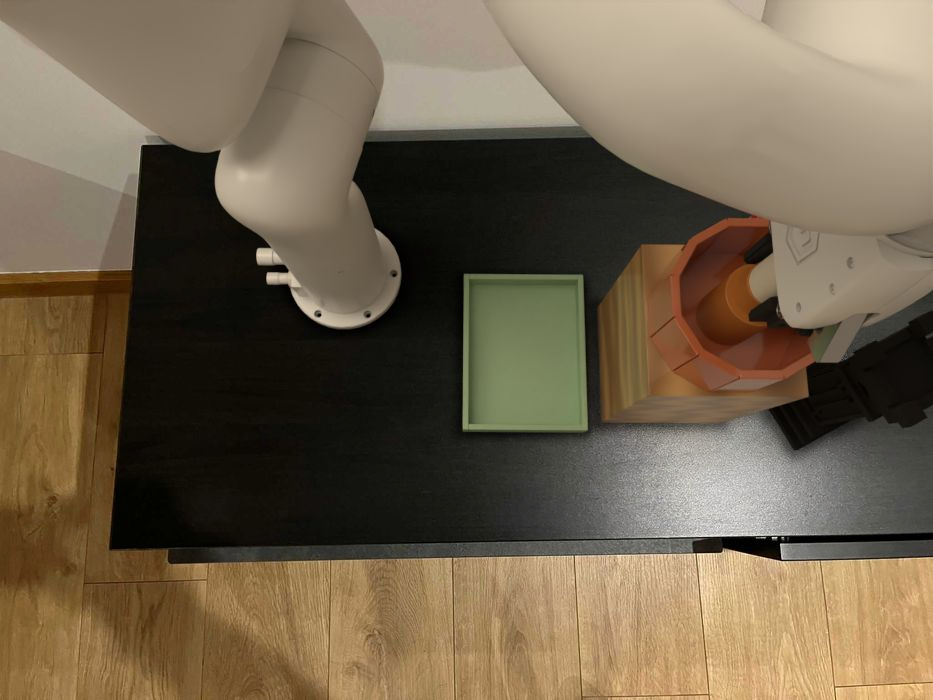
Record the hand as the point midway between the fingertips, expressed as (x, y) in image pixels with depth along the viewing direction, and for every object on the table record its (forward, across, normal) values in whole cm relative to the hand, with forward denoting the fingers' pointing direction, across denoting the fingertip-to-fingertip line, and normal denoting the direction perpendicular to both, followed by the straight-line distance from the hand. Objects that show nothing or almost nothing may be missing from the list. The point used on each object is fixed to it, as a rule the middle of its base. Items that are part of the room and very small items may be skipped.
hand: (767, 287), depth 49 cm
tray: (+29, -1, -15) cm, 32 cm away
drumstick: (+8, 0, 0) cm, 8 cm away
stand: (+29, 0, 0) cm, 29 cm away
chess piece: (+29, +4, +16) cm, 33 cm away
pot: (+9, 0, 0) cm, 9 cm away
